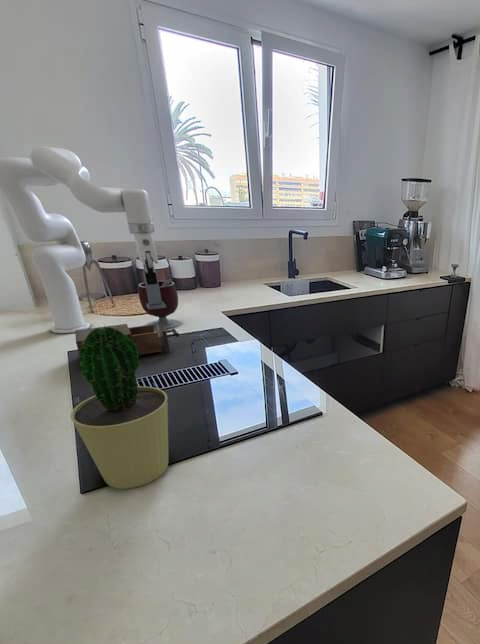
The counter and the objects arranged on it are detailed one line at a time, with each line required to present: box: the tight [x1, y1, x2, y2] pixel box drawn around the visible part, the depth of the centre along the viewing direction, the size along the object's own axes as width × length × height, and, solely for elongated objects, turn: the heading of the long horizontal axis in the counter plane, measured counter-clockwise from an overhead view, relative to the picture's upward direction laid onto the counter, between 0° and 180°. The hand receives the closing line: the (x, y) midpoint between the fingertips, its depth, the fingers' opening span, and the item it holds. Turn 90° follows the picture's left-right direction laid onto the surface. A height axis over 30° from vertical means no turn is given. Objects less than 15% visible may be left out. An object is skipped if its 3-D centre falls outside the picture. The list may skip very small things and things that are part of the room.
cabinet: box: [74, 323, 132, 356], centre depth 127 cm, size 15×13×9 cm
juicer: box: [80, 241, 115, 313], centre depth 177 cm, size 10×11×30 cm
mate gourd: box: [138, 278, 181, 331], centre depth 158 cm, size 16×14×20 cm
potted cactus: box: [70, 324, 170, 490], centre depth 72 cm, size 15×15×30 cm
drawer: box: [128, 323, 180, 356], centre depth 134 cm, size 18×11×7 cm, turn 124°
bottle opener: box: [142, 269, 166, 310], centre depth 140 cm, size 5×6×14 cm
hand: (151, 283), depth 140 cm, fingers closed on bottle opener
